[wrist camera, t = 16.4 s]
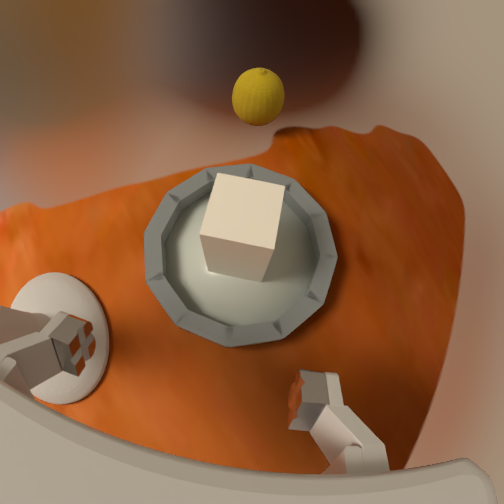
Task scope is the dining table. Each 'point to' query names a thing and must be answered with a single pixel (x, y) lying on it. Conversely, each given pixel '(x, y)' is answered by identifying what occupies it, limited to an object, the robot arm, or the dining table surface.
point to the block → (241, 226)
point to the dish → (232, 288)
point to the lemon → (258, 96)
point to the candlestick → (37, 317)
